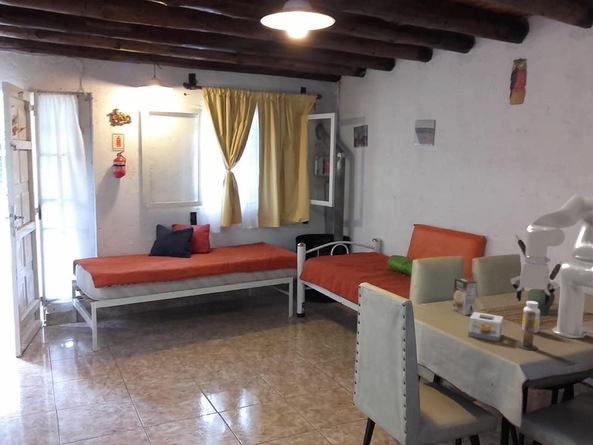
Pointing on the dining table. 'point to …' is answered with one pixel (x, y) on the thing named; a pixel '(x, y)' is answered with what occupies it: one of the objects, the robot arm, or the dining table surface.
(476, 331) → the white hollow box
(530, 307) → the supplement bottle
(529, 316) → the brown wooden rod
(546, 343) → the dining table surface
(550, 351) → the dining table surface
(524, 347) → the mat
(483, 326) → the orange hemisphere
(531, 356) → the dining table surface
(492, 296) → the dining table surface
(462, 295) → the coffee box
